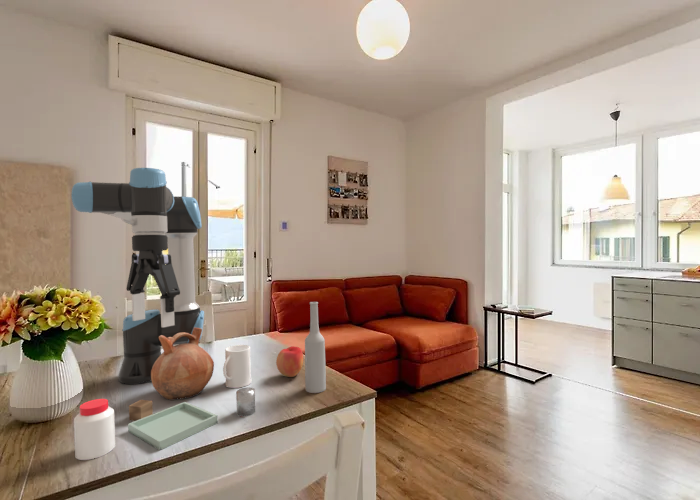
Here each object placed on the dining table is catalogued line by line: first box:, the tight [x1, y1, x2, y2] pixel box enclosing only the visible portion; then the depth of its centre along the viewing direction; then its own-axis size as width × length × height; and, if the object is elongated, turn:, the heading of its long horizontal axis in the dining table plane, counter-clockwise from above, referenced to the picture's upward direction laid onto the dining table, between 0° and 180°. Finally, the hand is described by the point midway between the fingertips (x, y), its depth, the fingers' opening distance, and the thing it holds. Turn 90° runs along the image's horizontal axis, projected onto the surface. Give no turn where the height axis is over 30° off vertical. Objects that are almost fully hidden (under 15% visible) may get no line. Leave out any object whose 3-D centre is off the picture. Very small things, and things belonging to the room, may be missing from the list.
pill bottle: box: [73, 398, 116, 461], centre depth 86 cm, size 8×8×11 cm
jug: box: [151, 327, 215, 401], centre depth 118 cm, size 18×18×20 cm
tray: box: [127, 401, 219, 451], centre depth 96 cm, size 15×15×2 cm
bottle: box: [304, 301, 327, 394], centre depth 119 cm, size 7×7×28 cm
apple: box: [275, 346, 304, 378], centre depth 131 cm, size 10×10×10 cm
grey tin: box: [235, 386, 256, 417], centre depth 104 cm, size 5×5×6 cm
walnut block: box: [128, 399, 154, 422], centre depth 102 cm, size 4×4×4 cm
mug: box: [222, 344, 253, 389], centre depth 124 cm, size 12×8×12 cm
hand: (152, 323), depth 89 cm, fingers open, 13 cm apart
